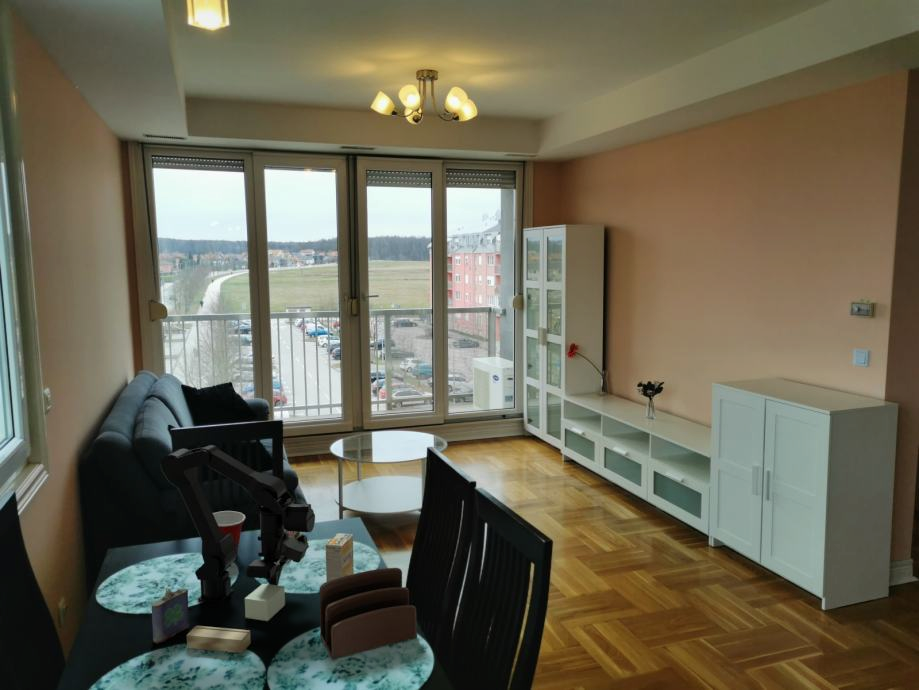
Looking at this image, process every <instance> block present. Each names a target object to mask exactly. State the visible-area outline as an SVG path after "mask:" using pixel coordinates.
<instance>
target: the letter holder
mask: <svg viewBox="0 0 919 690" xmlns="http://www.w3.org/2000/svg"><path fill="white" fill-rule="evenodd" d="M318 593H319V613H320V614H319V619H320V622H319V626H320V630H319V631H320V634H319V635H320V639H321V641H322V642H323V645H324V647H325V649H326V651H327V653H328V654H329V657H330V658H331V660H332V659H333V660H336V659H340V658H344V657H349V656H353V655H356V654H359V653H364V652H367V651H371V650H374V649H375V650H376V649H379V648H383V647H386V646H390V645H394V644H397V643H401V642H405V641H406V642H407V641H409V640H414V639H417V637H418V632H417V631H418V628H417V626H418V625H417V608H416V606H415V605H412V604H410V591H409V588H408V587H406V586H404V587H403V571H402V569H401V568H399V567H386V568H376V569H370V570H365V571H361V572H358V573H354V574H352V575H348V576H345V577H341V578H338V579H335V580H332V581H329V582H327V581H326V582H324V583H322V584H321V585H320V586H319V592H318Z"/></svg>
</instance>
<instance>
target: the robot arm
mask: <svg viewBox="0 0 919 690" xmlns="http://www.w3.org/2000/svg"><path fill="white" fill-rule="evenodd" d="M204 465H205V466H207V467H209V468H211V470H213V471H215V472H217V473H218V474H220V475H222V476H224V477H225V478H227V479H228V480H230V481H232V482H234V483H235V484H237V485H238V486H240V487H241V488H243V489H244V490H245V491H246V492H247V493H248V494H249V495H248V496H250V498H251V499H252V500H253V501H255V502H256V503H257V504H256V505H255V507H254V508H253V509H252V510H251V511H250V513H251V514H259V522H260V534H258V535H257V541H258V542H259V541H260V546H261V547H260V548H261V549H260V550H259V551H258V552H257V553H258V554H257V556H258V557H263V559H254V560H253V561H252V562H251V563H250V564H249V565H248V566H247V567H246V568H245V577H246V578H250V579H251V578H252V579H265V580H266V581H267V584H270V585H278V586H279V582H280V578H281V574H282V570H283V567H284V566H285V565H286V564H287V563H288V561H290V560H291V561H292V562H293V563H298V564H299V563H300V562H301V561H302V560H303V559H304V558H305V556H306V553H307V550H308V549H309V548H310V545H309V542H308V536H307V535H306V534H303V533H312V532H313V530H314V527H315V522H316V514H315V511H314V509H313V508H312V504H311V503H304V504H302V503H299V504H298V503H295V502H296V499H294V497H293V496H292V494H291V493H290V492H289V490H288V489H287V487H286V483H285V481H284V480H282V479H281V478H280V477H277V476H274V475H272V474H269V473H263V472H259V471H256V470H255V469H252V468H251V467H249V466H247V465H246V464H244V463H242V462H241V461H239V460H237V459H235V458H234V457H232V456H230V455H229V454H227V453H225V452H223V451H221V450H220V449H219V447H217V446H216V445H213V444H211V445H210V444H209V445H207V446H204V447H198V448H193V449H188V448H180V449H178V450H176V451H174V452H171V453H169V454H167V455H165V456H164V457H163V458H162V459H161V463H160V469H161V472H162V473H163V475H164V476H165V478H166V479H167V481H168V482H169V483H170V484H171V485H172V486H174V487H175V488H176V489H178V491H179V493H180V495H181V497H182V499H183V501H184V502H183V503H184V504H185V506H186V508H187V511H188V513H189V515H190V517H191V519H192V521H193V523H194V526H195V528H196V530H197V533H198V535H199V537H200V540H201V556H202V560H203V561H202V562H203V563H202V564H201V566H200V567H198V569H196V570H195V572H194V573H195V577H196V578H197V581H200V582H199V583H200V596H198V597H197V601H200V602H210V603H222V602H223V601H224V600H225V599H226V598H228V596H229V595H231V593H232V592H233V591H234V589H233V588H232V579H231V578H232V577H230V571H229V570H228V569H229V568H230V567H231V566H232V563H233V562H234V561H236V559H237V556H238V552H239V550H238V551H237V547H238V548H239V546H238V545H237V544H236V543H235V541H234V538H233V535H232V534H231V533H230V534H228V535H226V534H224V533H223V532H222V531H221V530H220V528H219V526H218V524H217V522H216V520H215V517H214V515H213V513H214V512H213V511H212V508H211V507H210V503H209V502H208V500H207V498H206V495H205V493H204V491H203V488H202V486H201V484H200V482H199V466H204ZM280 500H282V501H281V502H279V501H280ZM284 529H285V530H284ZM287 531H293V532H300V536H299V537H298V538H297V539H296V538H295V537H289V534H288V532H287Z"/></svg>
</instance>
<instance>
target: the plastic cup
mask: <svg viewBox="0 0 919 690" xmlns="http://www.w3.org/2000/svg"><path fill="white" fill-rule="evenodd" d="M212 513H213V515H214V517H215V520H216V522H217V524H218V526H219V528H220V530H221V531H222V532H223V533H224V534H226V535H228V534H230V533H231V534H232V535H233V538H234V541H235V543H236V544H237V545H238V547H237V551H238V552H239V544H240V540H241V533H242V527H243V523H244V522H245V520H246V515H245V514H243V512H239V511H236V510H235V511H233V510H224V511H217V512H212Z"/></svg>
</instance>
